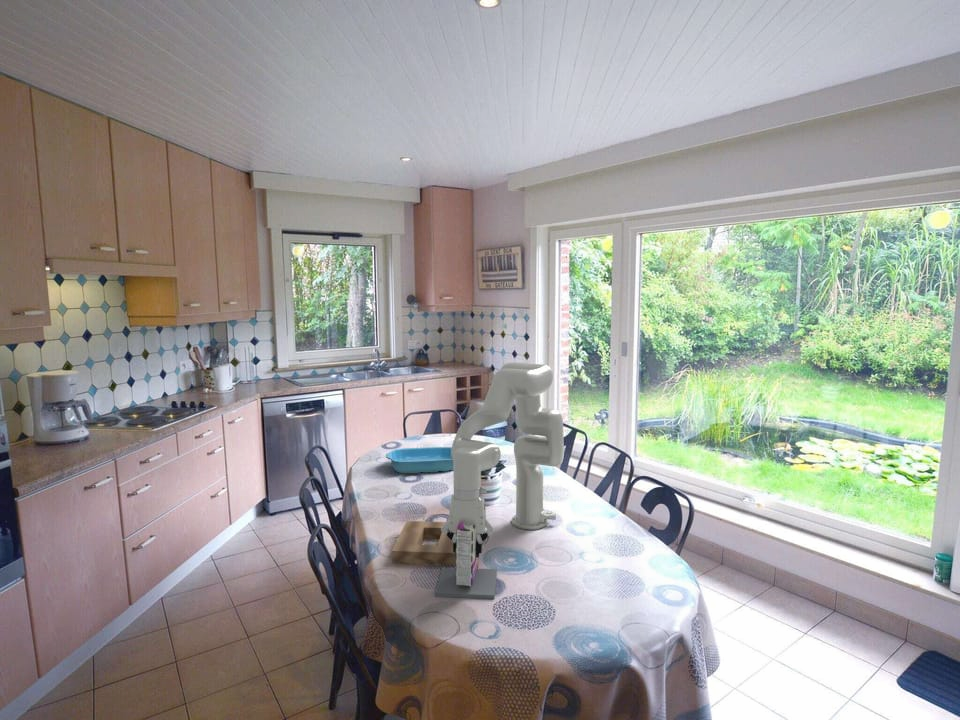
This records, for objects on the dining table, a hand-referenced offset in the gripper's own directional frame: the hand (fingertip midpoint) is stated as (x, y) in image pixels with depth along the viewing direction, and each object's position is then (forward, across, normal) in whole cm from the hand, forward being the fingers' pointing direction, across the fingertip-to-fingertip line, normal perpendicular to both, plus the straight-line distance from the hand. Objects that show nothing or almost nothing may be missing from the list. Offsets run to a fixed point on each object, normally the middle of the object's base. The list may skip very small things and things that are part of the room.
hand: (467, 554), depth 153 cm
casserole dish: (+10, +30, -102) cm, 107 cm away
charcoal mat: (+9, 0, 0) cm, 9 cm away
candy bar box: (+7, 0, 0) cm, 7 cm away
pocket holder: (+9, +14, -21) cm, 27 cm away
